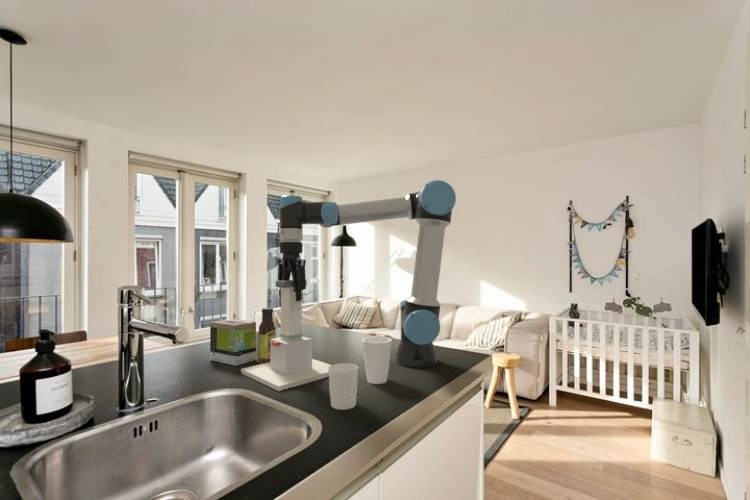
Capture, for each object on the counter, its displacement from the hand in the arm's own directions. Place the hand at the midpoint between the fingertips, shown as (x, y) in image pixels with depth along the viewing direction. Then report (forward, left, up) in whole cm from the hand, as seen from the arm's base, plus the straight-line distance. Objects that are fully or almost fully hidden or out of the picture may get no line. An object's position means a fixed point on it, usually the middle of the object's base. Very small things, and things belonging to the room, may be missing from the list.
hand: (291, 309), depth 128 cm
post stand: (0, 0, -21) cm, 21 cm away
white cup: (-33, +5, -22) cm, 40 cm away
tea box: (+29, +7, -22) cm, 37 cm away
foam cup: (-26, -15, -22) cm, 37 cm away
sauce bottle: (+18, -1, -22) cm, 28 cm away
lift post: (0, 0, -12) cm, 12 cm away
